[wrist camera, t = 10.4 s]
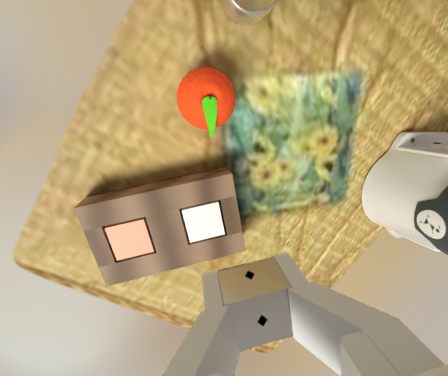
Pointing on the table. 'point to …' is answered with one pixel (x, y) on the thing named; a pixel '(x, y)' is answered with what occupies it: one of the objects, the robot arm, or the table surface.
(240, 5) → the plastic bottle
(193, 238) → the key ivory
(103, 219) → the key console
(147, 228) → the key terracotta
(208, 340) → the robot arm
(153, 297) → the table surface
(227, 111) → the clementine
